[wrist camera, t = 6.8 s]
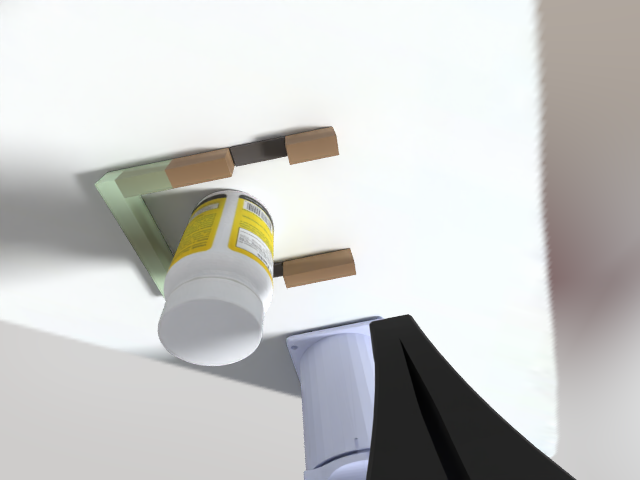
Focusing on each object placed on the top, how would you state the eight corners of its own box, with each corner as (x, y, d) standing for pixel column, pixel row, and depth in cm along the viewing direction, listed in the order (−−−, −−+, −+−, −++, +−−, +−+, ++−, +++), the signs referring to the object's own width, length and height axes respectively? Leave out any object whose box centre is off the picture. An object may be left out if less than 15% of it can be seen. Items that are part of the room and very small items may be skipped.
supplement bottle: (193, 251, 21) (149, 370, 14) (191, 182, 18) (137, 286, 11) (270, 258, 22) (265, 374, 15) (279, 193, 19) (278, 296, 12)
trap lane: (351, 260, 22) (355, 274, 21) (178, 294, 22) (172, 310, 21) (332, 126, 17) (336, 135, 16) (107, 172, 17) (94, 184, 16)
